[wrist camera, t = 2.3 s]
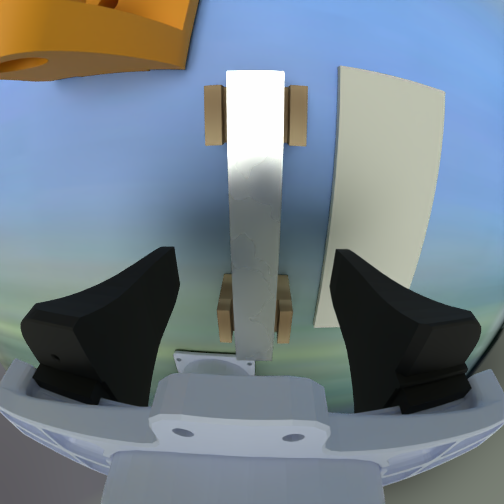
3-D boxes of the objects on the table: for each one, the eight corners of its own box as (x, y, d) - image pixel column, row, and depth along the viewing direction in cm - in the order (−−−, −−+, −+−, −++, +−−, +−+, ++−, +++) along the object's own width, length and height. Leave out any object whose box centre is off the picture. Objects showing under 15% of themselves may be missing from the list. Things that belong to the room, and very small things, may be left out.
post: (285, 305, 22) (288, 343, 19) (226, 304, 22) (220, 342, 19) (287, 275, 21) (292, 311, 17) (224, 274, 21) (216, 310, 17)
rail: (271, 336, 20) (271, 360, 18) (238, 335, 20) (236, 360, 18) (280, 77, 12) (284, 71, 10) (232, 77, 12) (226, 71, 10)
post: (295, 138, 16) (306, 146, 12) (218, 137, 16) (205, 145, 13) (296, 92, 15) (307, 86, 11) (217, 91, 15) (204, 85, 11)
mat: (394, 318, 23) (396, 323, 23) (313, 323, 23) (314, 327, 23) (440, 91, 13) (445, 91, 13) (337, 67, 14) (340, 65, 13)
